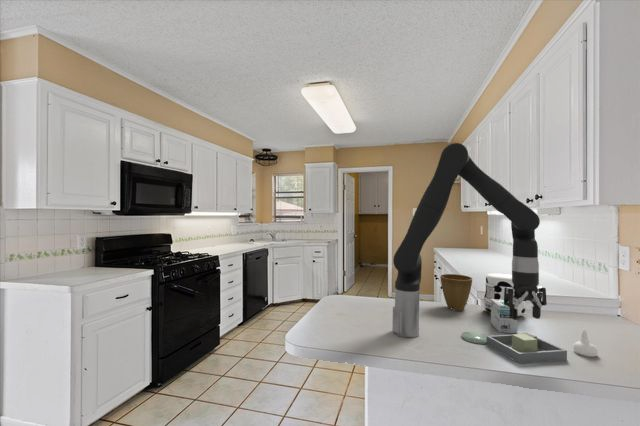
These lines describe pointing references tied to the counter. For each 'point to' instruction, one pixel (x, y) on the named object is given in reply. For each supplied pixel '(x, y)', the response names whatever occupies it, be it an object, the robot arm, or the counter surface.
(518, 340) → the olive box
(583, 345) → the garlic bulb
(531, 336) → the walnut block
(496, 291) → the milk container
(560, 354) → the bin
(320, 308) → the counter surface
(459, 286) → the plant pot
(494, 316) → the light bulb box
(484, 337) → the saucer
